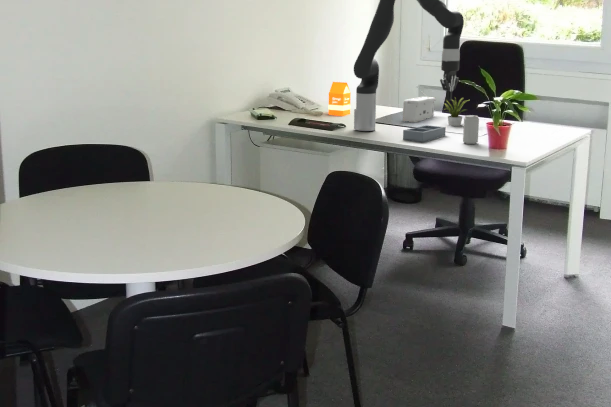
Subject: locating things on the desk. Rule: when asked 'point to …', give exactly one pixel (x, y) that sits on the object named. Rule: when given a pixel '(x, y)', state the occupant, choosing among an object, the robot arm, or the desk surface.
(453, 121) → the house plant
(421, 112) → the stereo radio cassette player
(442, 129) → the grey compartment tray
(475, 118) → the beverage can
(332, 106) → the orange juice
